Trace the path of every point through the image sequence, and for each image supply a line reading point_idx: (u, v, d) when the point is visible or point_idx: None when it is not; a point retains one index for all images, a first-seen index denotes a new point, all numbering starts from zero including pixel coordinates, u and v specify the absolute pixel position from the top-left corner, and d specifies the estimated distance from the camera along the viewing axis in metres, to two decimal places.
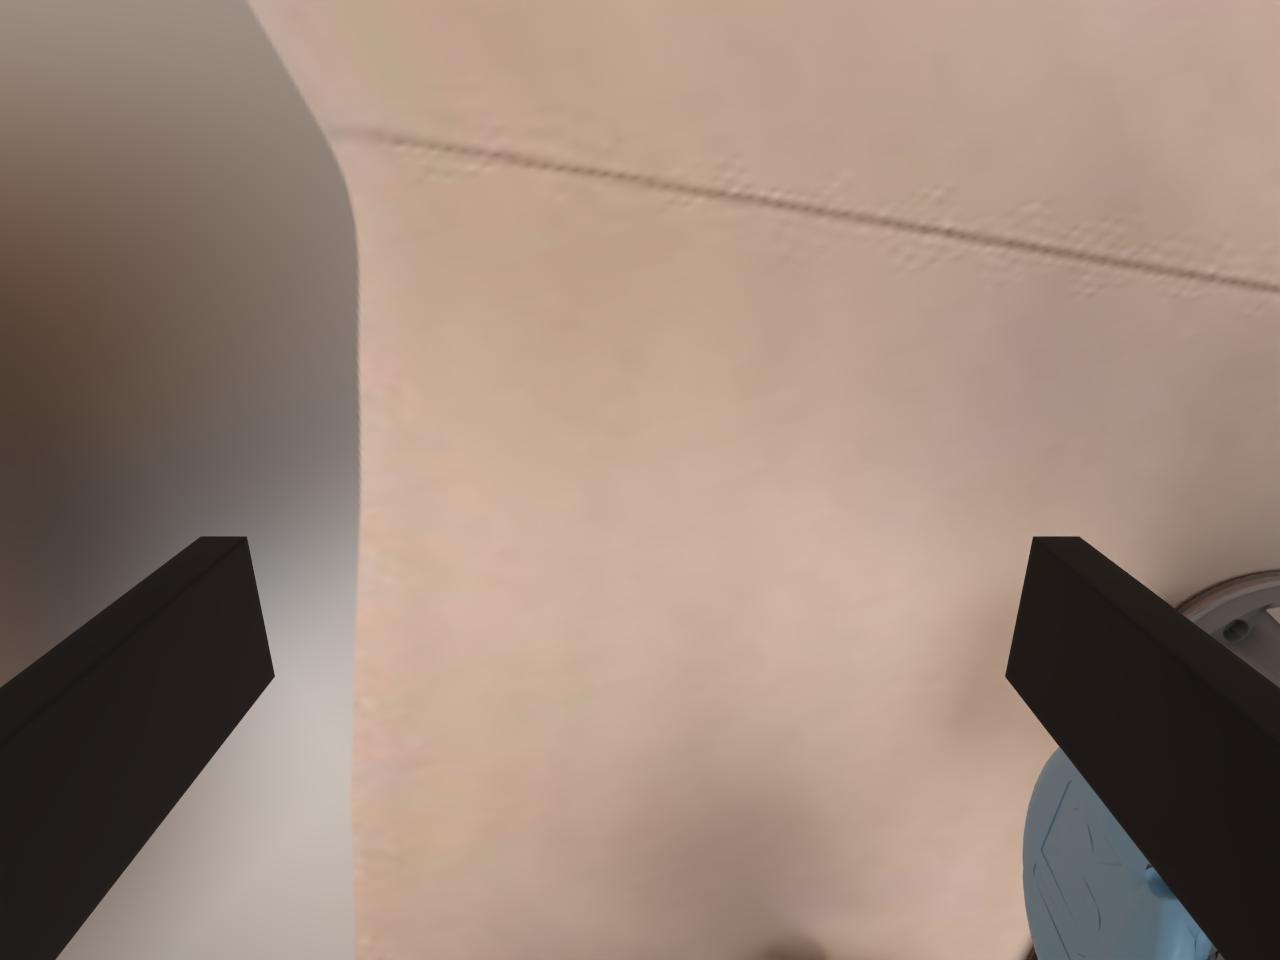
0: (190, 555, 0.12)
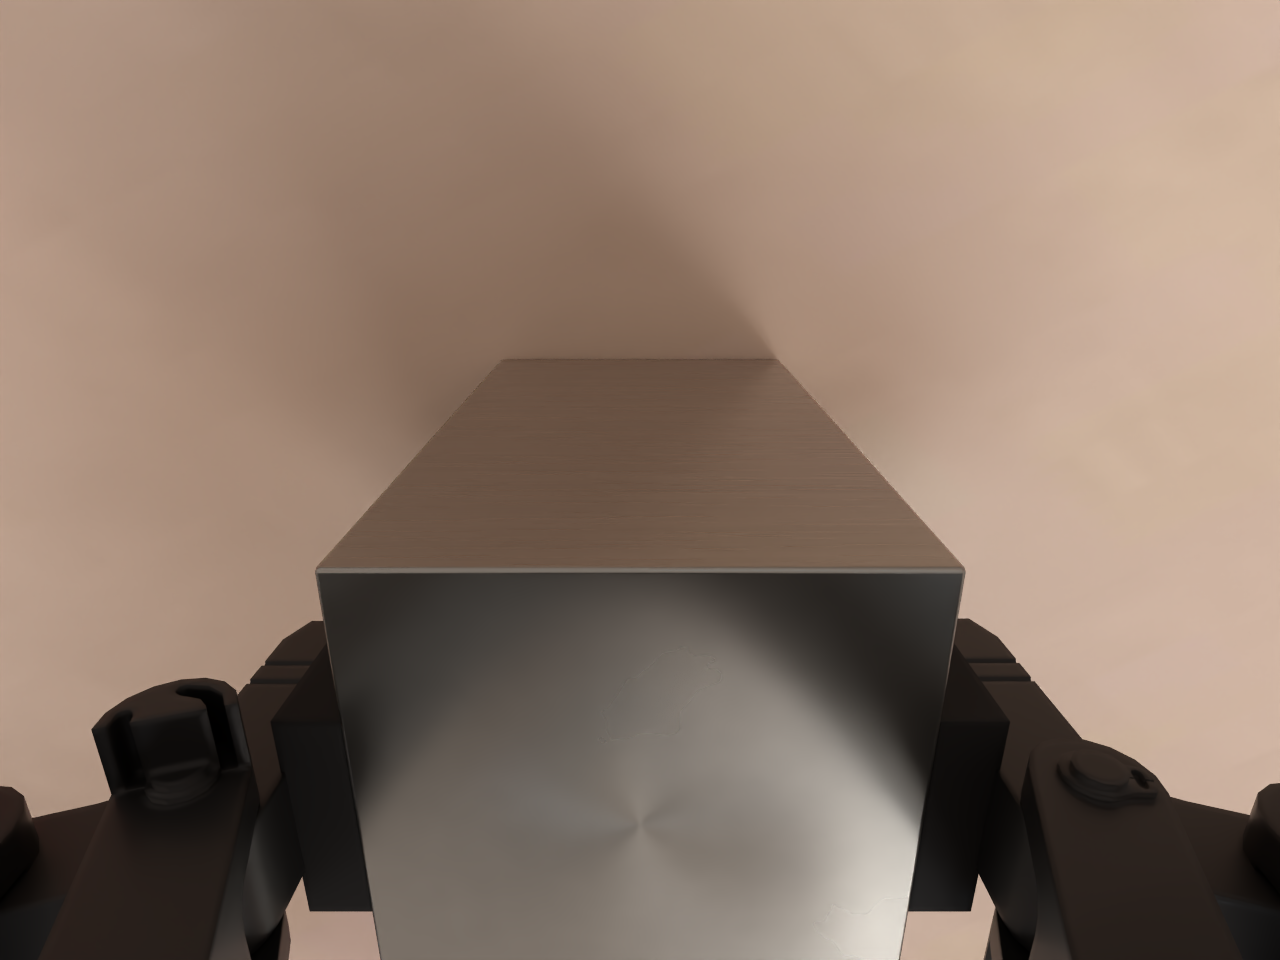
0: None
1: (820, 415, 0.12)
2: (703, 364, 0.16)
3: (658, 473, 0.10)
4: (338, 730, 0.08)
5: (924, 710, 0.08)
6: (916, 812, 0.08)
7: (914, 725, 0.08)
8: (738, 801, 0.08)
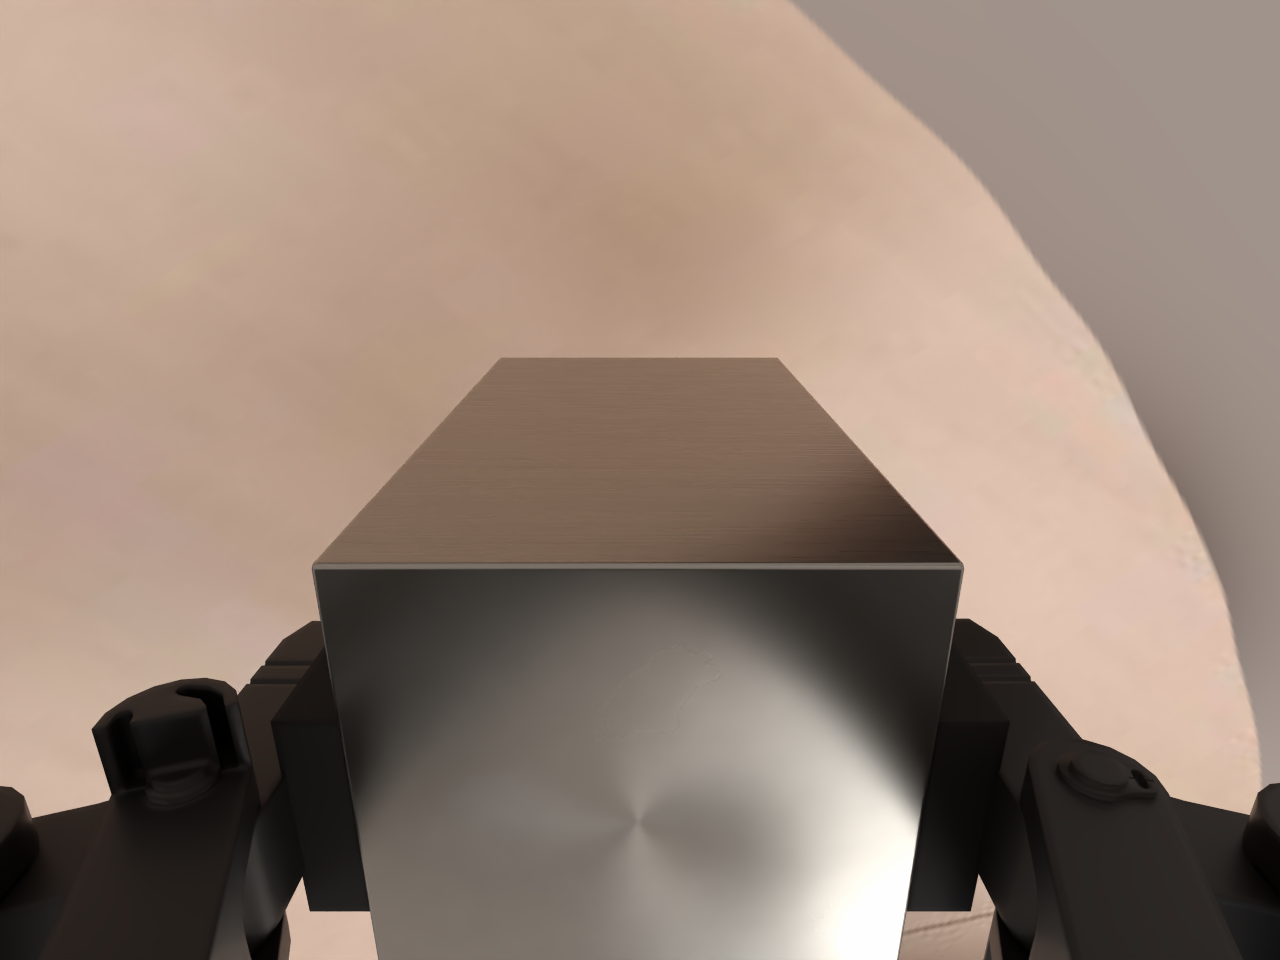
0: None
1: (819, 413, 0.12)
2: (702, 362, 0.16)
3: (657, 470, 0.10)
4: (338, 730, 0.08)
5: (922, 708, 0.08)
6: (914, 809, 0.08)
7: (913, 720, 0.08)
8: (736, 798, 0.08)
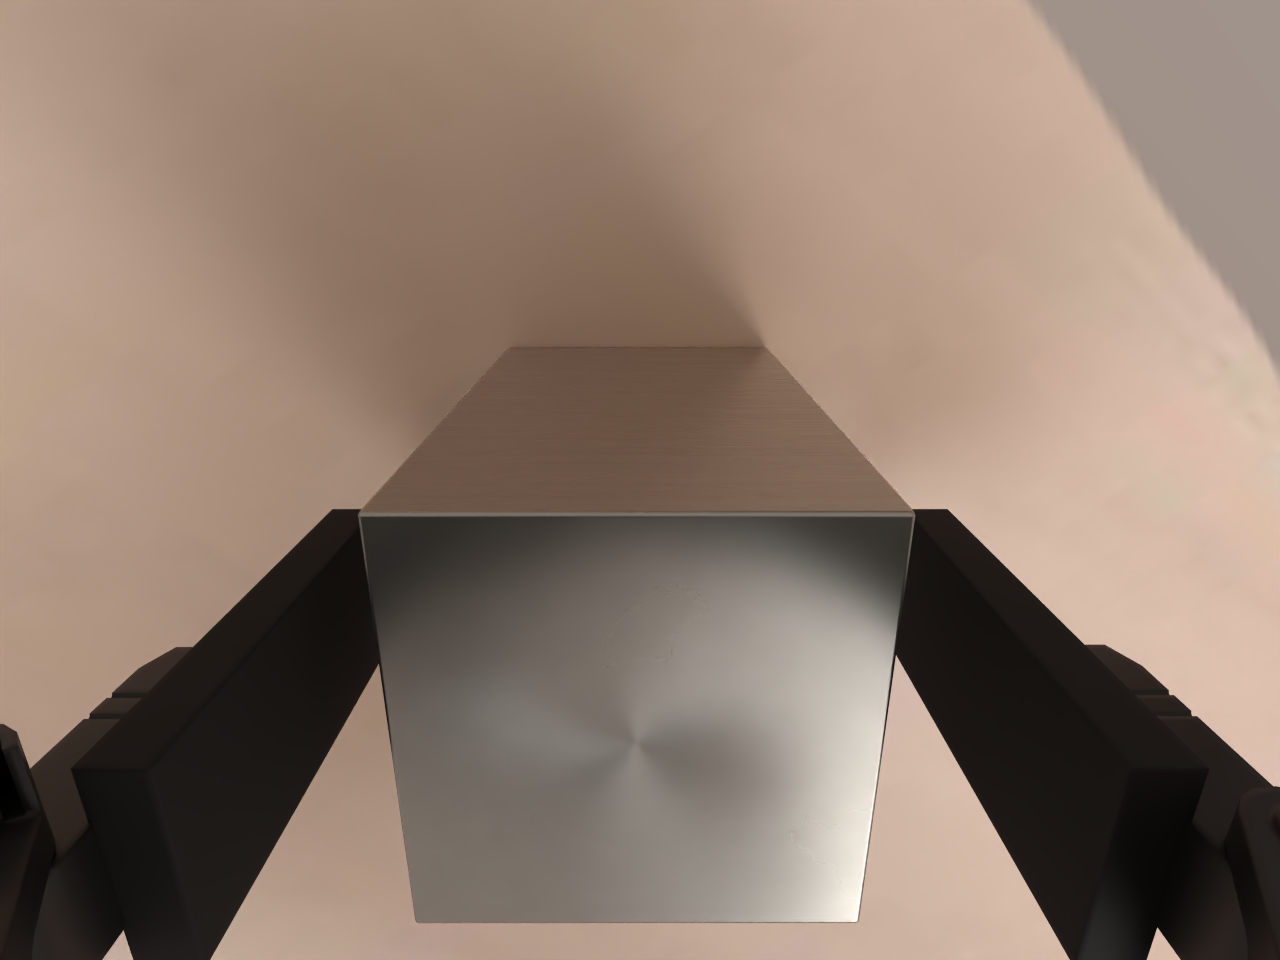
0: (330, 525, 0.13)
1: (801, 395, 0.14)
2: (696, 351, 0.17)
3: (653, 441, 0.11)
4: (144, 777, 0.07)
5: (882, 639, 0.09)
6: (877, 731, 0.09)
7: (874, 651, 0.09)
8: (722, 721, 0.09)
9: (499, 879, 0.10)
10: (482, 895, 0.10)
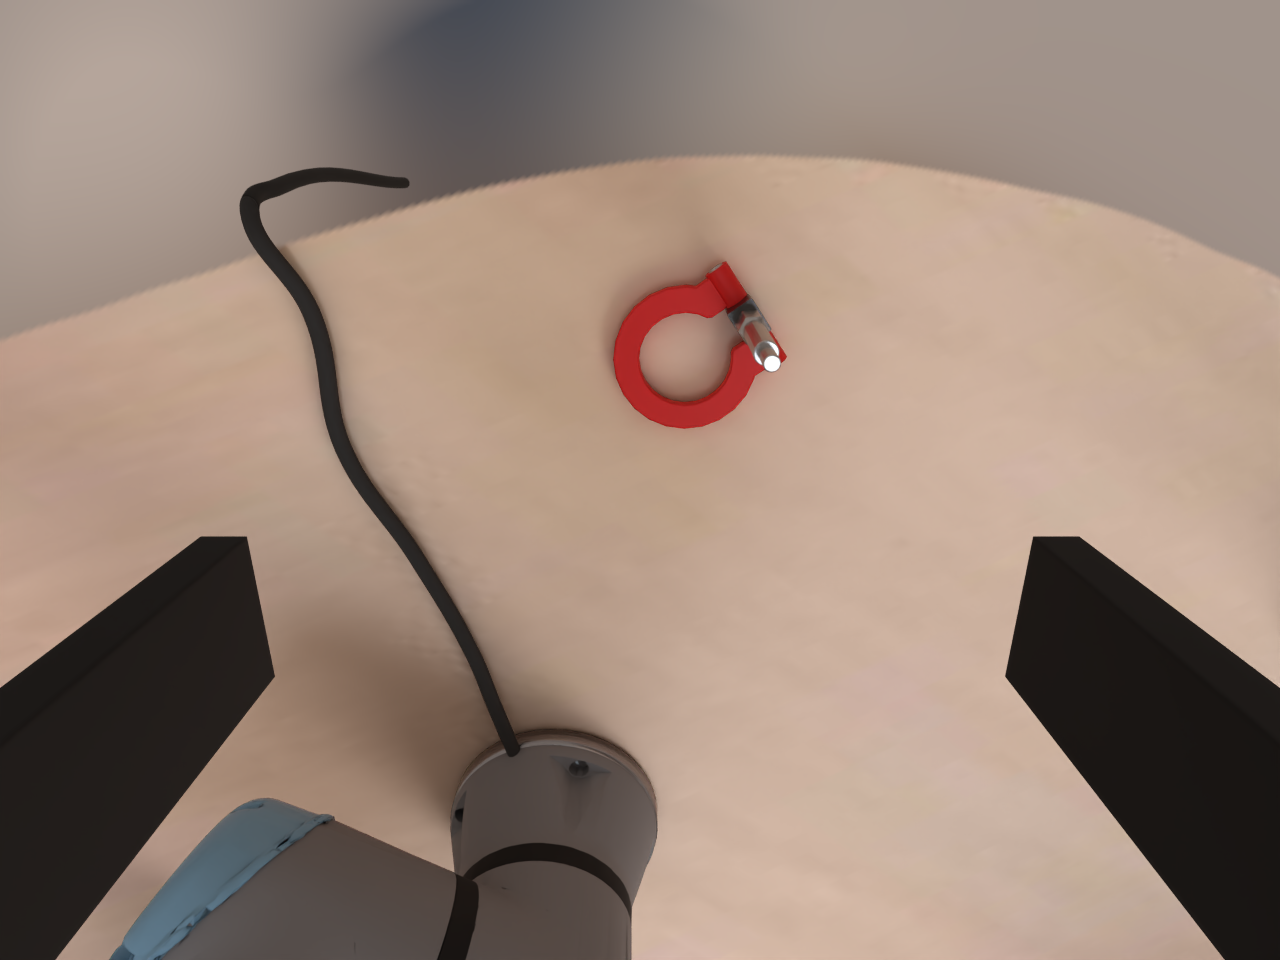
0: (190, 555, 0.12)
1: None
2: None
3: None
4: None
5: None
6: None
7: None
8: None
9: None
10: None
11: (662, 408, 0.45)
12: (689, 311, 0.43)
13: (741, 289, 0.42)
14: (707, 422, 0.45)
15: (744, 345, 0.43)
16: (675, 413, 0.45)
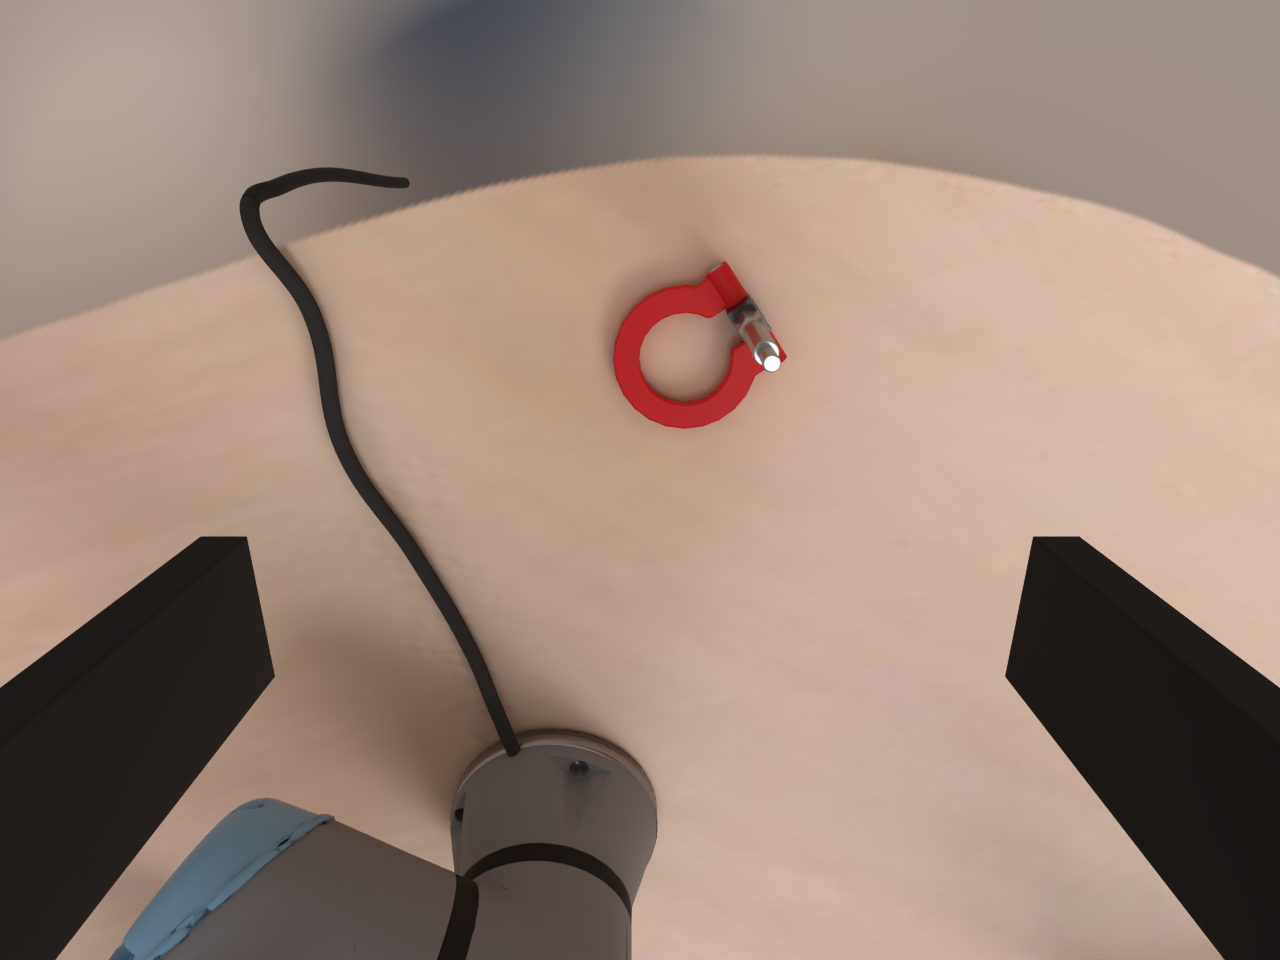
0: (190, 555, 0.12)
1: None
2: None
3: None
4: None
5: None
6: None
7: None
8: None
9: None
10: None
11: (662, 408, 0.45)
12: (689, 311, 0.43)
13: (741, 289, 0.42)
14: (707, 422, 0.45)
15: (744, 345, 0.43)
16: (675, 413, 0.45)
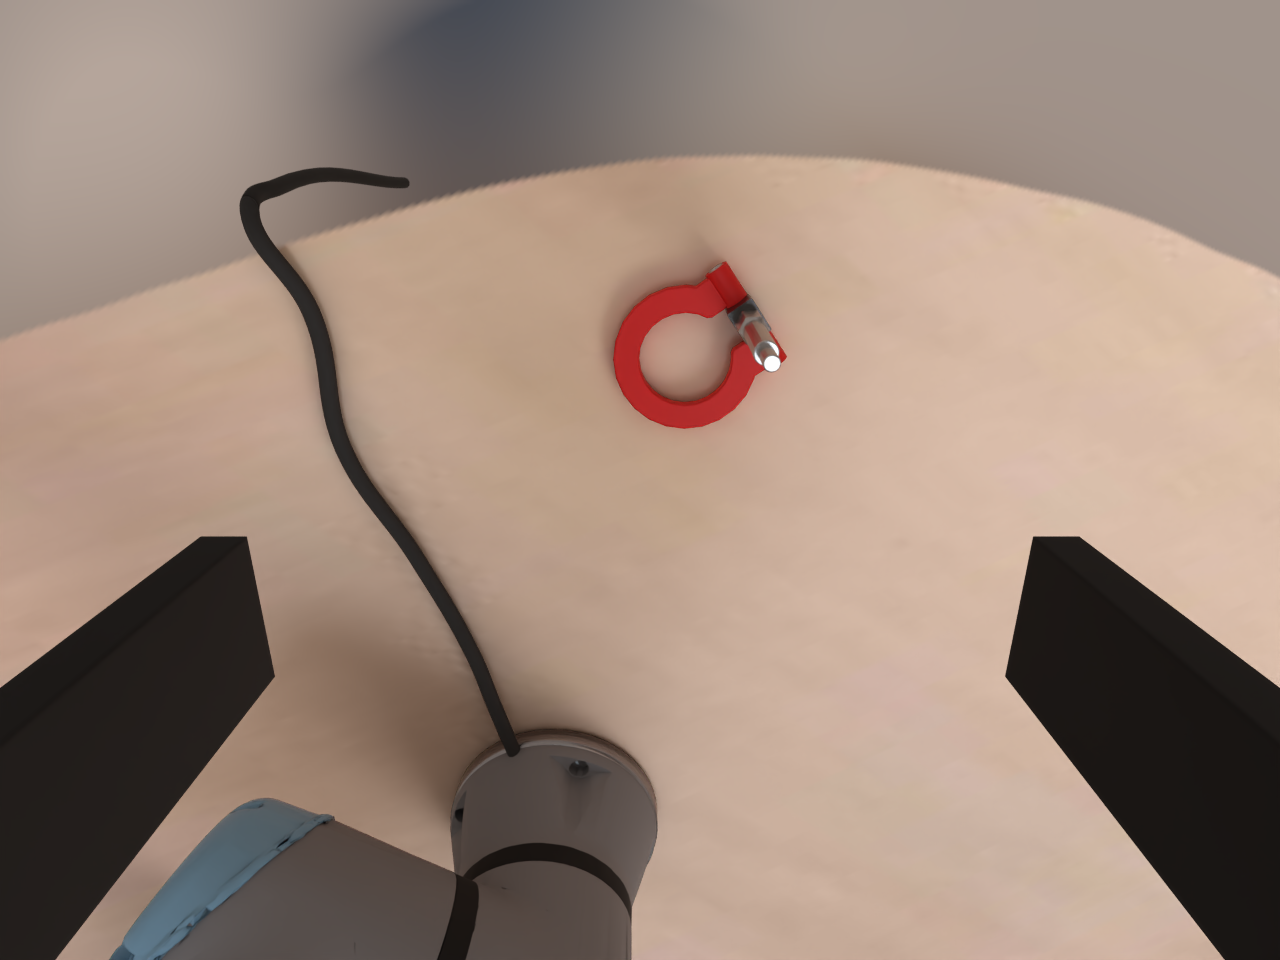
0: (190, 555, 0.12)
1: None
2: None
3: None
4: None
5: None
6: None
7: None
8: None
9: None
10: None
11: (662, 408, 0.45)
12: (689, 311, 0.43)
13: (741, 289, 0.42)
14: (707, 422, 0.45)
15: (744, 345, 0.43)
16: (675, 413, 0.45)
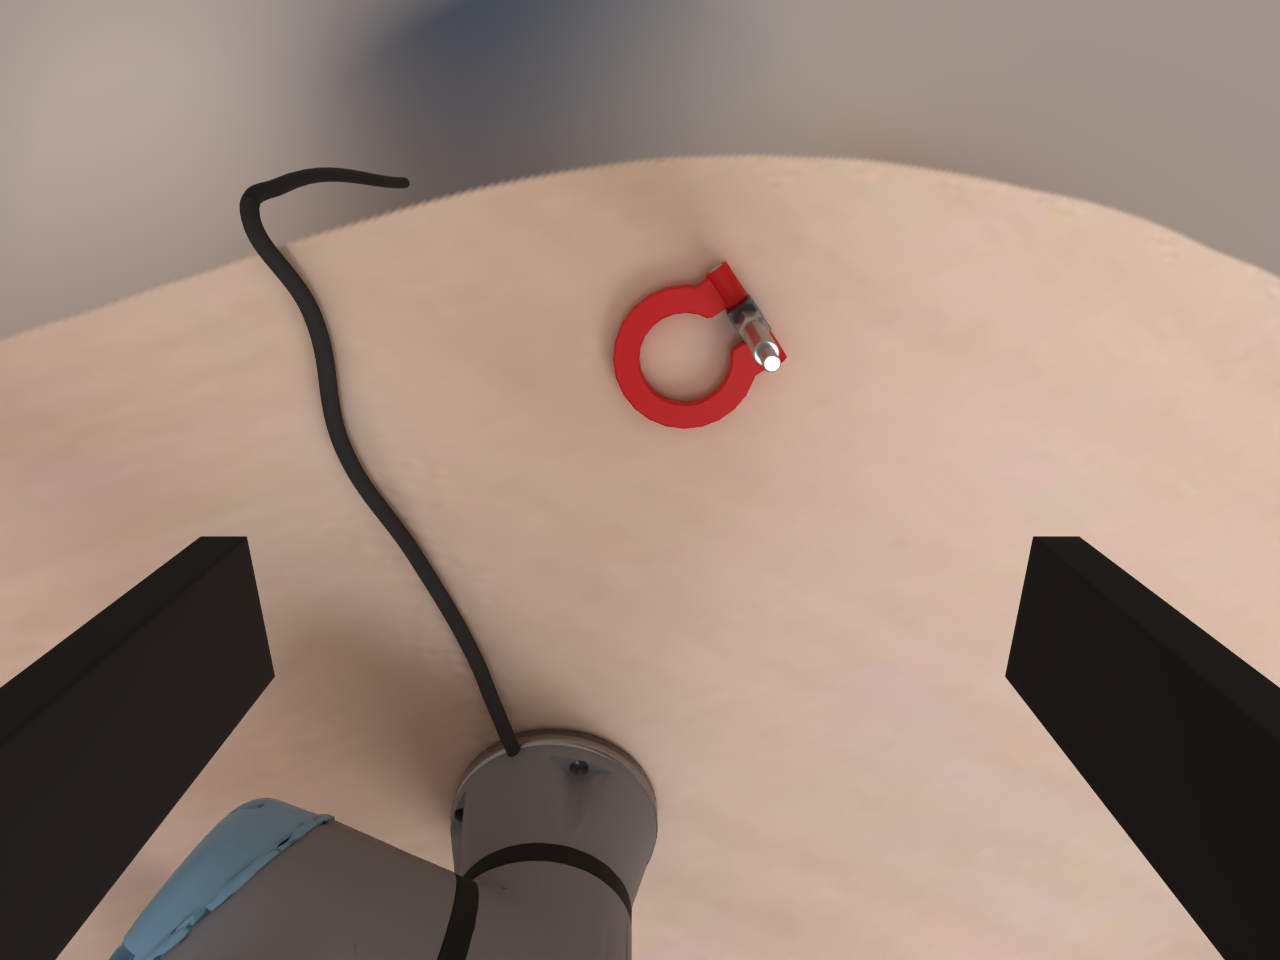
0: (190, 555, 0.12)
1: None
2: None
3: None
4: None
5: None
6: None
7: None
8: None
9: None
10: None
11: (662, 408, 0.45)
12: (689, 311, 0.43)
13: (741, 289, 0.42)
14: (707, 422, 0.45)
15: (744, 345, 0.43)
16: (675, 413, 0.45)
